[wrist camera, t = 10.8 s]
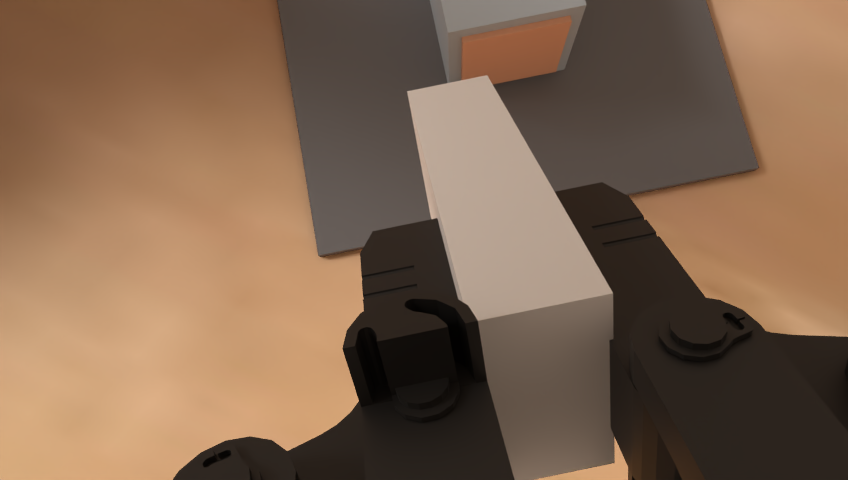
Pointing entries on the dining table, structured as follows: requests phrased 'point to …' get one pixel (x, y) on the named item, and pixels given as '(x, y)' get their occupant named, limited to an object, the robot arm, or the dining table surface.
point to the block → (505, 37)
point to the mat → (524, 99)
